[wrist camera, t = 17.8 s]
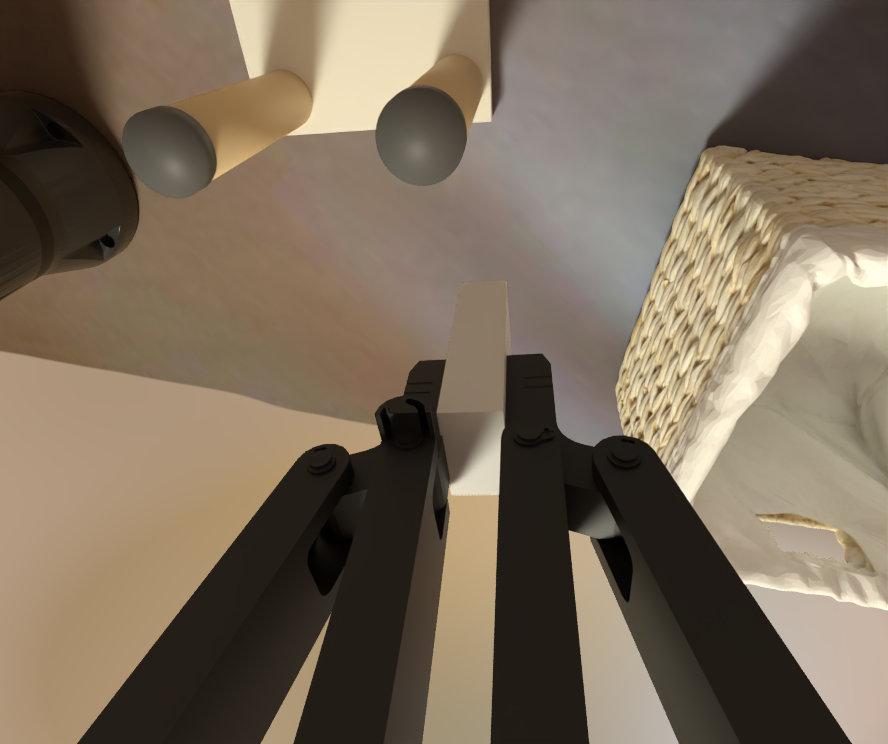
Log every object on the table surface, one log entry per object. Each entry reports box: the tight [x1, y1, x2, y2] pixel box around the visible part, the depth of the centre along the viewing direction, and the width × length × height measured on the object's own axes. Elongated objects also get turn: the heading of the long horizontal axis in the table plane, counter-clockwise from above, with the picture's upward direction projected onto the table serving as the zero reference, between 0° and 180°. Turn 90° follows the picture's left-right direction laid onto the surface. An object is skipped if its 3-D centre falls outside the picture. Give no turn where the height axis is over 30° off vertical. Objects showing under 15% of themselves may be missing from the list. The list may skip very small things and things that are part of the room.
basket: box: [615, 145, 888, 610], centre depth 39 cm, size 27×27×22 cm
